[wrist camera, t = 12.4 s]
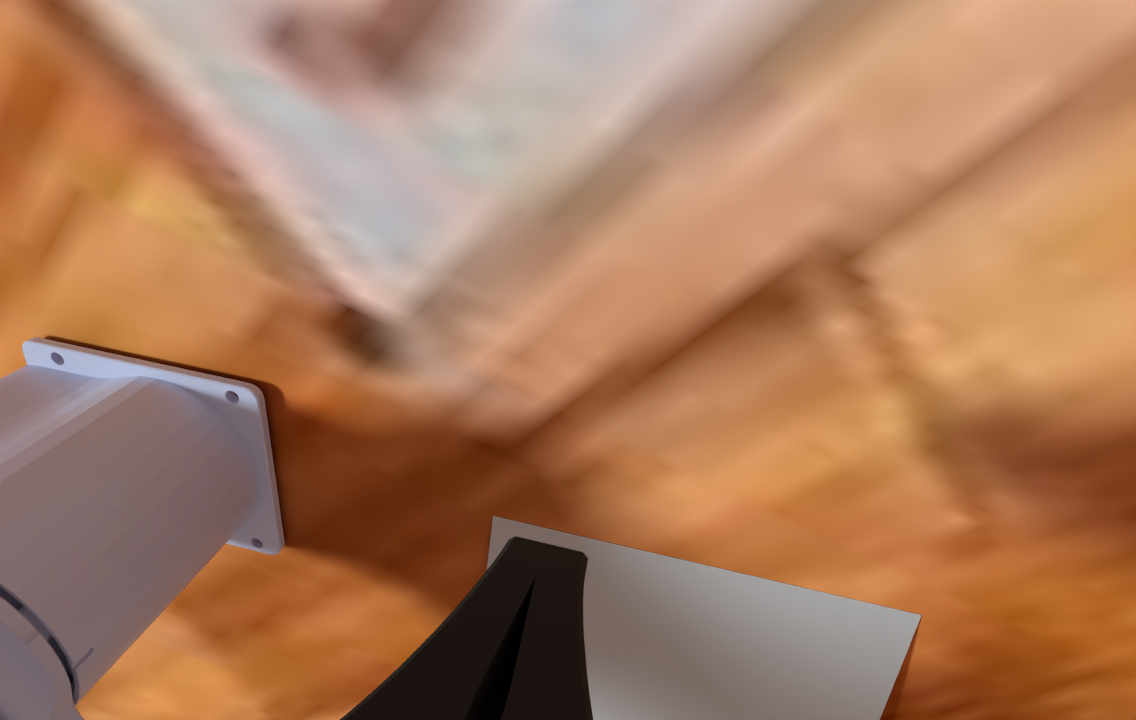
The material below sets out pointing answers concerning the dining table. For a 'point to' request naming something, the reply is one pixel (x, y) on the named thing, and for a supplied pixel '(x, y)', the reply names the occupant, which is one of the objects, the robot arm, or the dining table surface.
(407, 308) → the dining table surface
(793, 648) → the dock
